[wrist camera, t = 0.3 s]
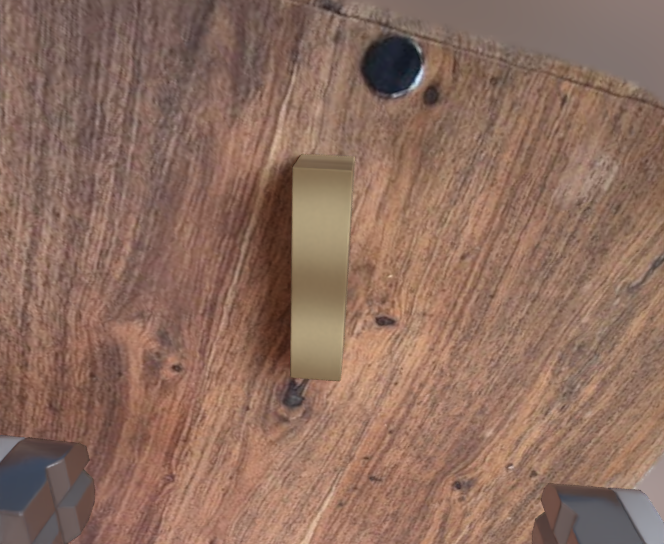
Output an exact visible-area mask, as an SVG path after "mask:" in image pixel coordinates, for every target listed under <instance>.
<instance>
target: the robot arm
mask: <svg viewBox="0 0 664 544" xmlns="http://www.w3.org/2000/svg"><path fill="white" fill-rule="evenodd" d="M89 460H90V459H89V455H88V451H87V447H86V446H85V445H83V444H80V443H74V442H65V441H56V440H47V439H39V438H30V437H28V438H24V437H15V436H7V435H0V544H67V543H69V542H70V541H72V540H73V539H75V538H76V537H78V536H79V535H80V534H81V533H82V531H83V529H84V527H85V526H86V524H87V522H88V521H89V518H90V515H91V512H92V509H93V506H94V502H95V485H94V480H93V478H92V477H91V476H90V475H89V474H88V473H87V472H86V471H85V470H84V468H85V466H86V465H87V463H88V462H89ZM541 502H542V505H543V508H544V511H545V512H544V513H542V514H541V515H540V516H538V517H537V518H536V519H535V522H534V527H533V531H532V544H664V522H663V521H662V519H661V517H660V515H659V514H658V513H657V511H656V509H655V508H654V506H653V504H652V503H651V501H650V500H649V498H648V496H647V495H646V494H645V493H643V492H642V491H641V490H635V489H621V488H605V487H593V486H580V485H567V484H554V483H548V484H547V485H546V486H545V488H544V490H543V493H542V496H541Z"/></svg>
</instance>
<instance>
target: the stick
mask: <svg viewBox="0 0 664 544" xmlns="http://www.w3.org/2000/svg"><path fill="white" fill-rule="evenodd" d="M354 167H355V157H350V156H332V155H314V154H301V156H300V157H299V159H298V160H297V162H296V163H295V165H294V166H293V168H292V233H291V342H290V377H291V378H302V379H315V380H328V381H340V380H341V373H342V363H343V352H344V337H345V320H346V303H347V286H348V269H349V252H350V235H351V218H352V201H353V184H354Z"/></svg>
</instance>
